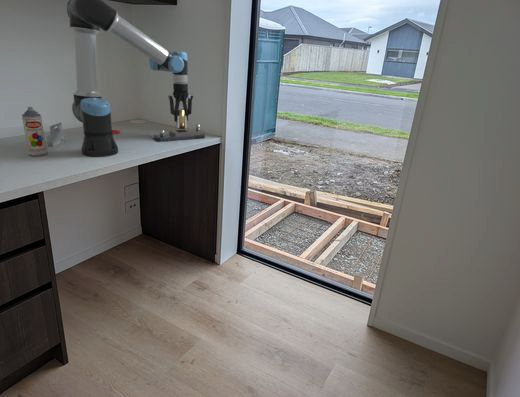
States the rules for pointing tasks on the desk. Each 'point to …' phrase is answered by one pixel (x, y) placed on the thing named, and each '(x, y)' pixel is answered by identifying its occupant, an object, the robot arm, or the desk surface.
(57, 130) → the ink cartridge box
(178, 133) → the door bolt
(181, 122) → the brass pin
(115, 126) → the desk surface
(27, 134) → the aerosol can
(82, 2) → the robot arm
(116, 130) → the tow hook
